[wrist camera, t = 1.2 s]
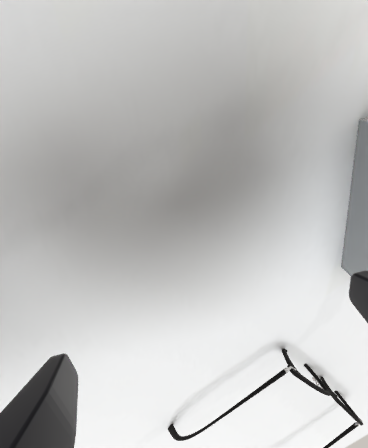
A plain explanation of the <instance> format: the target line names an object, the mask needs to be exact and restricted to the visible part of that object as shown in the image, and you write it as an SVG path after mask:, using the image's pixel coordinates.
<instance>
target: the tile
mask: <svg viewBox="0 0 368 448" xmlns="http://www.w3.org/2000/svg"><path fill="white" fill-rule="evenodd" d="M341 267H342V268H343V269H344V270H345V271H346V272H347V273H348V274H349V275H350V276H352V274H354V273H356V272H360V271H364V270H366V271H368V118H364V119H359V124H358V132H357V140H356V148H355V156H354V165H353V173H352V181H351V189H350V197H349V206H348V214H347V222H346V230H345V238H344V247H343V255H342V263H341Z"/></svg>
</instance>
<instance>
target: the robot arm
mask: <svg viewBox="0 0 368 448" xmlns="http://www.w3.org/2000/svg"><path fill="white" fill-rule="evenodd" d="M349 297H350V300H351V302H352V303H353V305H354V306H355V307H356V309H357V310H358V311H359V313H360V314H361V315H362V316H363V318H364V319H365V320H366V322H367V323H368V271H366V270H364V271H360V272H356V273H354V274H352V276H351V281H350V289H349ZM77 398H78V375H77V372H76V369H75V368H74V366H73V364H72V362H71V360H70V359H69V357H68V355H67V354H60V355H56V356H53V357H51V358H50V359H49V360H48V361H47V362H46V363H45V364H44V365H43V366H42V367H41V368H40V370H39V371H38V372H37V373H36V374H35V375H34V376H33V377H32V379H31V380H30V381H29V382H28V383H27V384H26V385H25V386H24V387H23V389H22V390H21V391H20V392H19V393H18V394H17V395H16V396H15V397H14V399H13V400H12V401H11V402H10V403H9V404H8V405H7V406H6V408H5V409H4V410H3V411H2V412H1V413H0V448H74V443H75V436H76V422H77Z"/></svg>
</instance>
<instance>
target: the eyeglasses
mask: <svg viewBox="0 0 368 448" xmlns="http://www.w3.org/2000/svg"><path fill="white" fill-rule="evenodd" d="M282 353H283V355H284V357H285V360H286V362H287V364H288V366H287V367H288V368H285V369H283V370H282V371H281V372H279V373H278V374H277V375H275V376H274V377H273V378H271V379H270V380H268V381H267V382H266V383H264V384H263V385H262V386H260V387H259V388H258V389H256V390H255V391H254V392H252V393H251V394H250V395H248V396H247V397H246V398H244V399H243V400H241V401H240V402H239V403H237V404H236V405H235V406H233V407H232V408H231V409H229V410H228V411H226V412H225V413H224V414H222V415H221V416H220V417H218V418H217V419H215V420H214V421H213V422H211V423H210V424H208V425H207V426H205V427H204V428H202V429H201V430H199V431H197V432H195V433H193V434H191V435H188V436H184V437H182V436H179V435H178V433H177V432H176V430H175V428H174V426H173V424H171V425H170V426H169V428H168V430H169V432H170V434H171V435H172V437H173V438H174V439H175V440H178V441H183V440H187V439H190V438H192V437H194V436H196V435H197V434H199V433H201V432H202V431H204V430H205V429H207V428H208V427H210V426H211V425H213V424H214V423H216V422H217V421H218V420H220V419H221V418H223V417H224V416H226V415H227V414H229V413H230V412H232V411H233V410H234V409H236V408H237V407H239V406H240V405H242V404H243V403H244V402H246V401H247V400H249V399H250V398H252V397H253V396H255V395H256V394H257V393H259V392H260V391H262V390H263V389H265V388H266V387H267V386H269V385H270V384H272V383H273V382H275V381H276V380H278V379H279V378H280V377H282V376H283V375H285V374H286V373H287V372H288V370H290V372H291V373H292V374H293V375H294V376H296V377H297V378H299V379H300V380H301V381H303V382H304V383H306V384H308V385H309V386H311V387H312V388H314V389H315V390H317V391H319V392H321V393H323V394H325V395H328V396H329V395H331V396H332V397H333V399H334V400H335V401H336V402H337V403H338V404H339V405H340V406H341V407H342V408H343V409H344V410H345V411H346V412H347V413H348V414H349V415H350V416H351V417H353V418H354V419H355V420H356V421H357V422H356V423H354V424H353V425H352V426H350V427H349V428H348V429H346V430H345V431H344V432H343V433H341V434H340V435H339V436H338V437H336V438H335V439H334V440H333V441H331V442H330V443H329V444H327V445H326V446H325V447H324V448H329V447H330V446H331V445H333V444H334V443H336V442H337V441H338V440H340V439H341V438H342V437H344V436H345V435H346V434H348V433H349V432H351V431H352V430H353V429H355V428H356V427H357V426H359V425H363V423H362V420H361V419H360V418H358V416H357V415H356V414H355V413H354V411H353V410H352V409H351V408H350V406H349V405H348V404H347V403H346V401H345V400H344V399H343V398H342V396H341V395H340V394H339V393H338V391H334V392H335V393H336V394H337V395H336V394H335V393H334V392H332V390H331V389H330V388H329V386H328V385H327V383H326V382H325V380H324V378H323V377H321V378H320V379H321V380H320V379H319V377H318V376H317V375H316V374H315V373H314V372H313V370H312V369H311V368H310V367H309V366H308V365H307V364H304V366H305V367H306V368H307V369H308V371H309V372H310V373H311V374H312V375H313V376H314V377H313V381H315V382H316V381H317V382H318V384H317V382H316V384H317V385H315V384H314V383H312V382H311V381H309V380H308V379H306V378H305V377H304V376H302V375H301V374H300V373H299V372H298V371H297V370H296V368H295V367H294V365H293V364H292V362H291V360H290V359H289V357H288V355H287V350H286V349H283V350H282ZM319 384H320V386H321V388H320V387H318V386H319ZM337 396H338V397H339V398H340V399H341V401H342V402H343V403H344V404H345V405H344V404H343V403H342V402H341V401H340V400H339V399H338V398H337Z"/></svg>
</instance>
